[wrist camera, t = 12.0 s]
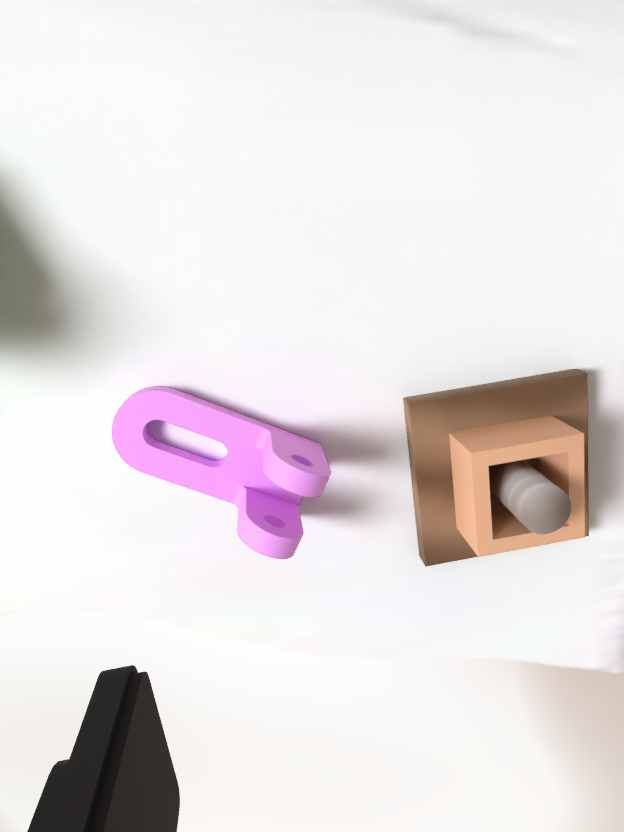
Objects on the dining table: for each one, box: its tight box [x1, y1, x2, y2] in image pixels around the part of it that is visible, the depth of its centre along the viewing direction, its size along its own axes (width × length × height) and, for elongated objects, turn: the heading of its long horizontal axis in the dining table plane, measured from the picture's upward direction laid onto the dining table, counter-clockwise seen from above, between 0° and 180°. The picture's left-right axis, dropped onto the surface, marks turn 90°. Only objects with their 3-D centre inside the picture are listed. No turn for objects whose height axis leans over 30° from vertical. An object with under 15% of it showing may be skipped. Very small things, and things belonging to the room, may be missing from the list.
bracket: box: [112, 386, 331, 559], centre depth 36 cm, size 13×6×7 cm, turn 67°
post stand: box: [403, 369, 589, 566], centre depth 38 cm, size 12×12×8 cm
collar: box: [449, 416, 585, 557], centre depth 38 cm, size 7×7×4 cm
